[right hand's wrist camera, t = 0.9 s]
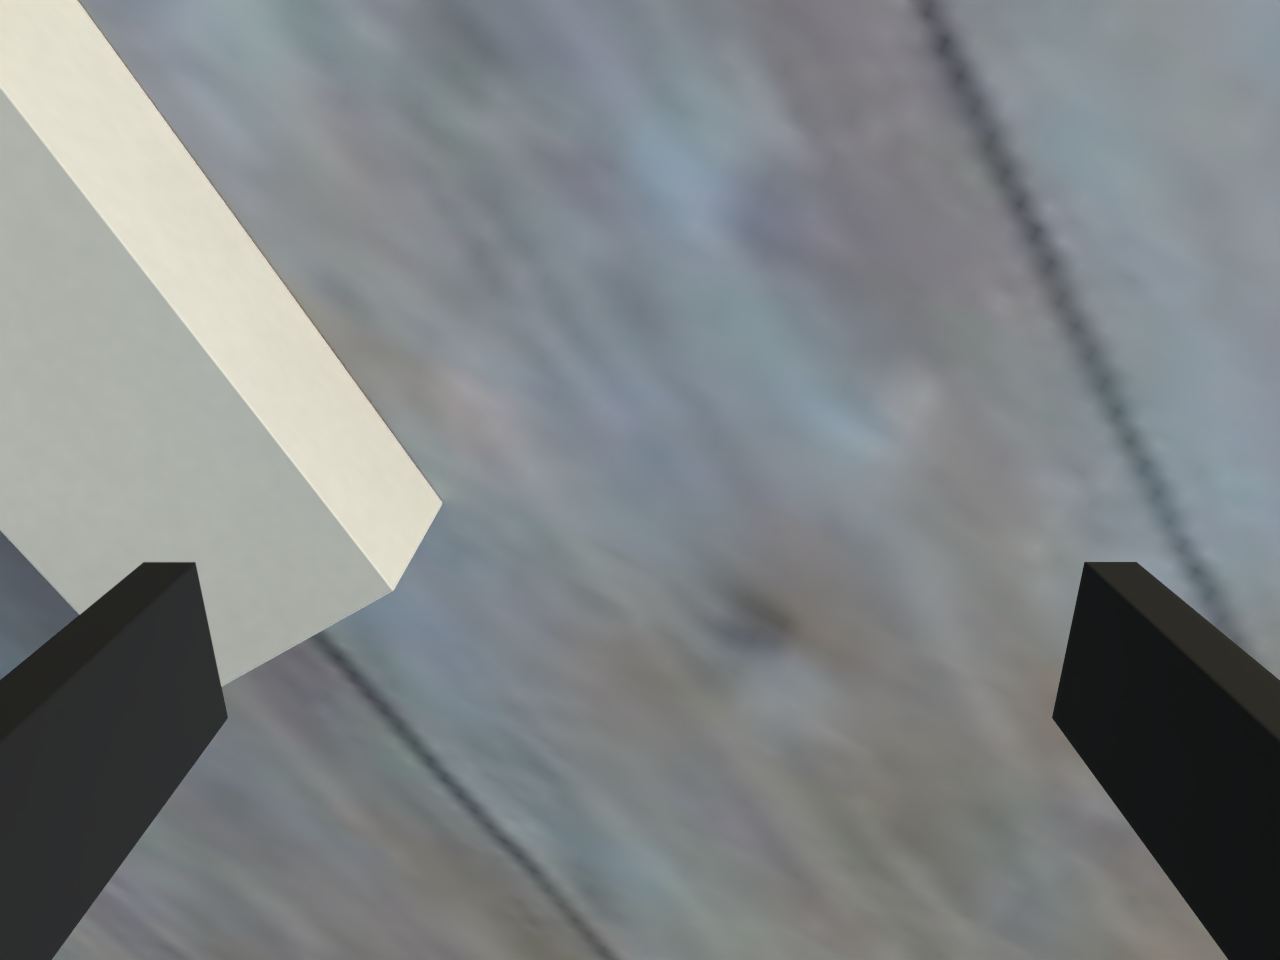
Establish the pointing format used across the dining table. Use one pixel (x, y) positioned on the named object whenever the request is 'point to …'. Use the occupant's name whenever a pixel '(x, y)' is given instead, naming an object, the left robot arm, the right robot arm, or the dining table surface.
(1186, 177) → the dining table surface
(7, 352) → the wide beam
